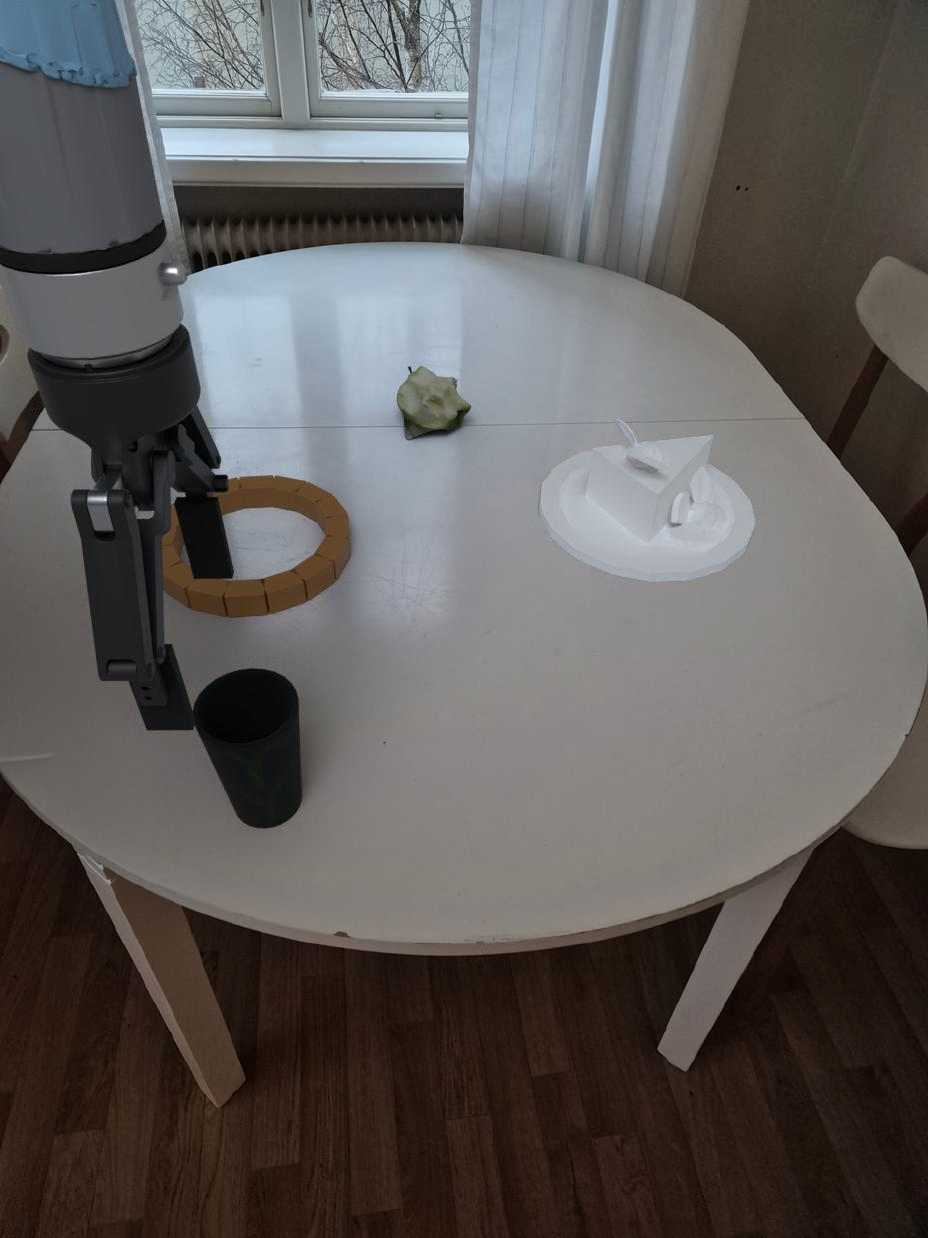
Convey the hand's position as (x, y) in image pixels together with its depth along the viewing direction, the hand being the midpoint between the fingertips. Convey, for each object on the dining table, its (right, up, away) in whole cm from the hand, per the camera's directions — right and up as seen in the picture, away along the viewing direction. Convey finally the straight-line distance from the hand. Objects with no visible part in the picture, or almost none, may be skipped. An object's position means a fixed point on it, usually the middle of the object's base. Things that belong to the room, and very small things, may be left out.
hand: (194, 644), depth 56 cm
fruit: (+13, +28, +59) cm, 67 cm away
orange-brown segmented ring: (-6, +9, +39) cm, 40 cm away
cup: (+1, -14, +16) cm, 21 cm away
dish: (+39, +14, +46) cm, 61 cm away
